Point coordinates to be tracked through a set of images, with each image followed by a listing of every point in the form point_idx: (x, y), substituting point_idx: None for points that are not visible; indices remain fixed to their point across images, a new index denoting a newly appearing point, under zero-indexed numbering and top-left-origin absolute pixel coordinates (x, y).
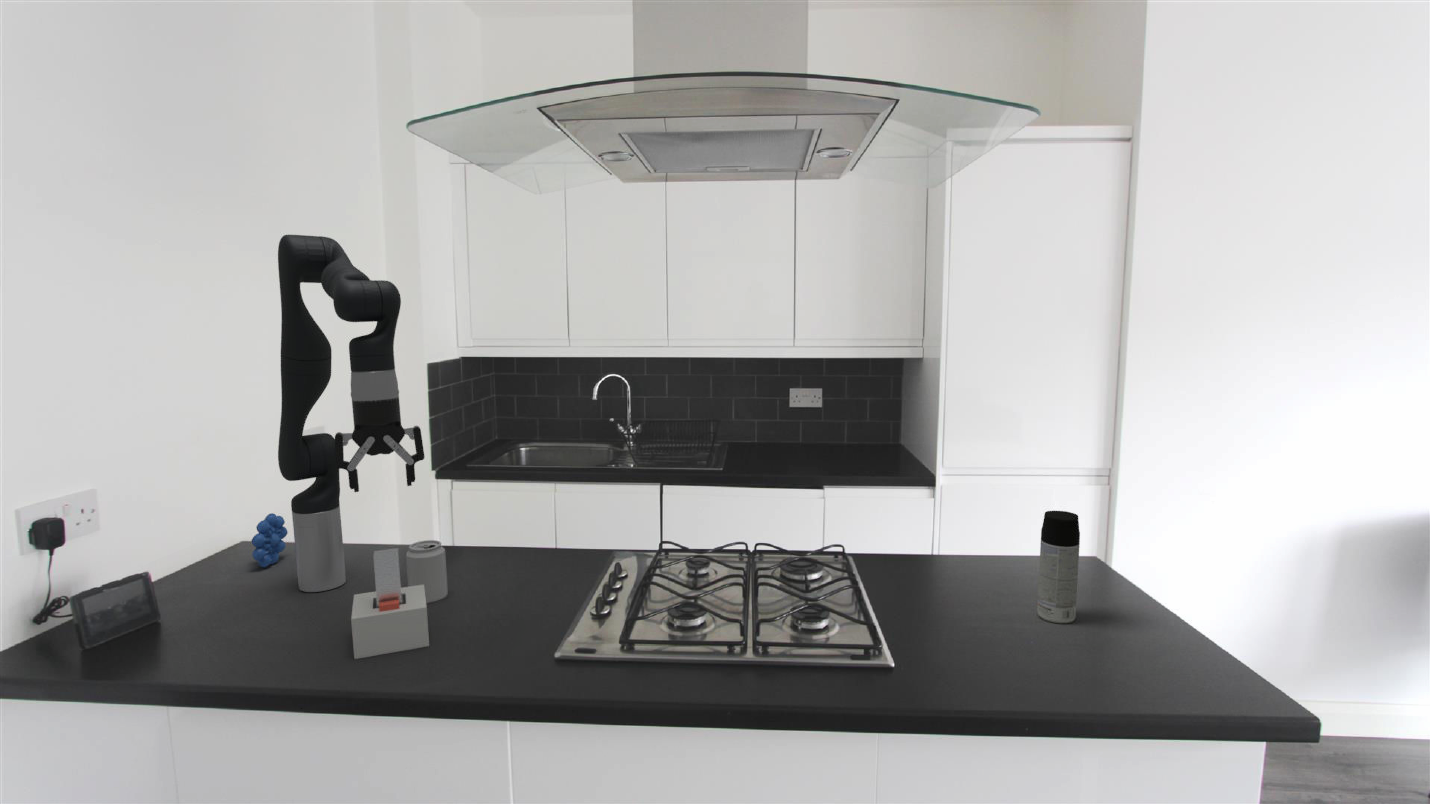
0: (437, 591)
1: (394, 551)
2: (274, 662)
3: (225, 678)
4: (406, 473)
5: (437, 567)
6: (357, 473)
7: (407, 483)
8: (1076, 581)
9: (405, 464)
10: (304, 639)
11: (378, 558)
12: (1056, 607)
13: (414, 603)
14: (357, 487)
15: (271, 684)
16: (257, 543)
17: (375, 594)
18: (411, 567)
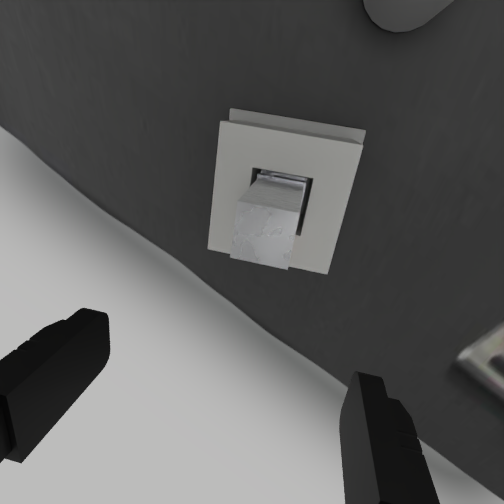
0: (420, 23)
1: (285, 238)
2: (129, 151)
3: (79, 167)
4: (346, 491)
5: (448, 2)
6: (35, 380)
7: (341, 432)
8: None
9: (377, 499)
10: (162, 79)
11: (241, 259)
12: None
13: (314, 244)
14: (91, 378)
15: (134, 220)
16: None
17: (259, 147)
18: None
